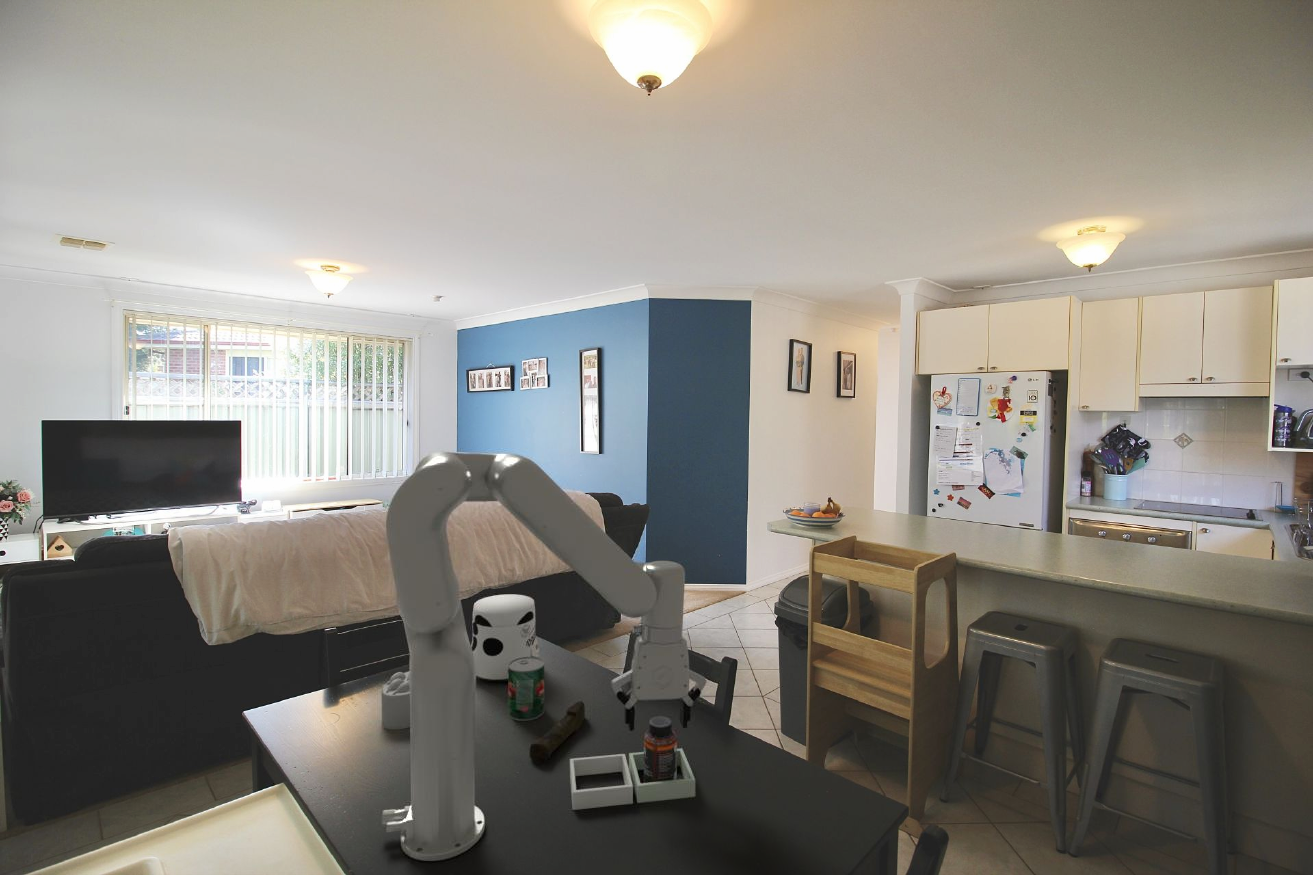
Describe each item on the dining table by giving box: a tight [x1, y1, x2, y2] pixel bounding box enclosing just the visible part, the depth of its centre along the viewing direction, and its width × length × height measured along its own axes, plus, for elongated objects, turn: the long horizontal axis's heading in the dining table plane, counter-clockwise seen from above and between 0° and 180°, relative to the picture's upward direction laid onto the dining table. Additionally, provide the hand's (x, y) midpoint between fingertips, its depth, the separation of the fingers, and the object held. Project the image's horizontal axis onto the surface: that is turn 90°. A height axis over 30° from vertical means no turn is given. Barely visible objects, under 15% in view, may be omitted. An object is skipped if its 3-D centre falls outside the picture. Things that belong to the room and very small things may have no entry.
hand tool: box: [529, 701, 586, 764], centre depth 126 cm, size 19×4×5 cm, turn 157°
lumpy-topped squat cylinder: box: [381, 670, 410, 730], centre depth 136 cm, size 10×13×9 cm
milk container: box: [470, 593, 540, 683], centre depth 157 cm, size 17×17×18 cm
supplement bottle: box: [643, 715, 678, 783], centre depth 112 cm, size 6×6×11 cm
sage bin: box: [628, 747, 696, 804], centre depth 112 cm, size 10×10×3 cm
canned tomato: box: [507, 657, 545, 722], centre depth 137 cm, size 8×8×11 cm
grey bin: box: [569, 753, 634, 811], centre depth 110 cm, size 10×10×3 cm
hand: (657, 725), depth 111 cm, fingers open, 9 cm apart
